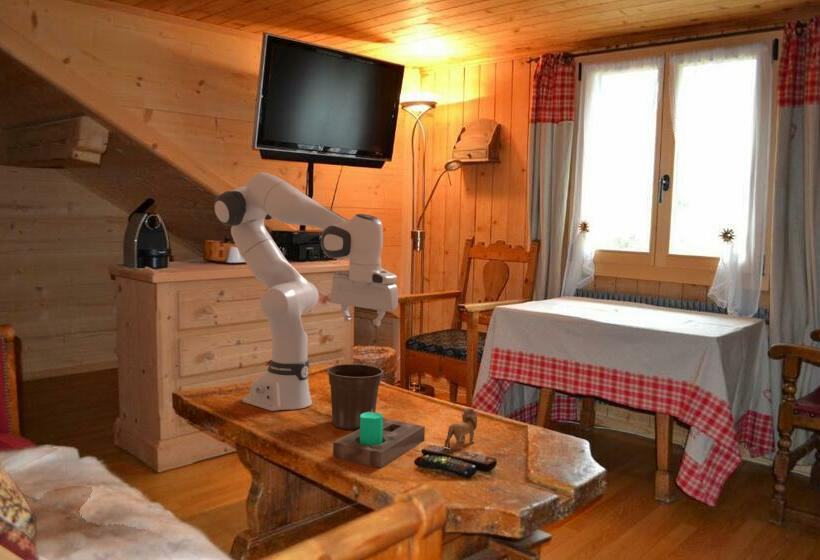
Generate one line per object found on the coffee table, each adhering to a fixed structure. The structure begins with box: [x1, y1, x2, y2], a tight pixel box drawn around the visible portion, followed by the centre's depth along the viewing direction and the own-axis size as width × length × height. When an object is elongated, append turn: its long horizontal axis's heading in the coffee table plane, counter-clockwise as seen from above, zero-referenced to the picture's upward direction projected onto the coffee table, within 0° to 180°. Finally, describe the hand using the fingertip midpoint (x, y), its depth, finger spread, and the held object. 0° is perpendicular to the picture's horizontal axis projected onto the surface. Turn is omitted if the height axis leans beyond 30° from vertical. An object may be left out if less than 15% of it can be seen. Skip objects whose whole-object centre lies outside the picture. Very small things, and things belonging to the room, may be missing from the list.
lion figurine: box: [443, 407, 478, 450], centre depth 187 cm, size 15×5×9 cm, turn 151°
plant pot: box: [326, 363, 384, 431], centre depth 202 cm, size 16×16×16 cm
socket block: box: [332, 417, 426, 469], centre depth 183 cm, size 14×24×4 cm, turn 153°
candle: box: [359, 412, 384, 445], centre depth 178 cm, size 6×6×12 cm
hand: (362, 323), depth 193 cm, fingers open, 8 cm apart
